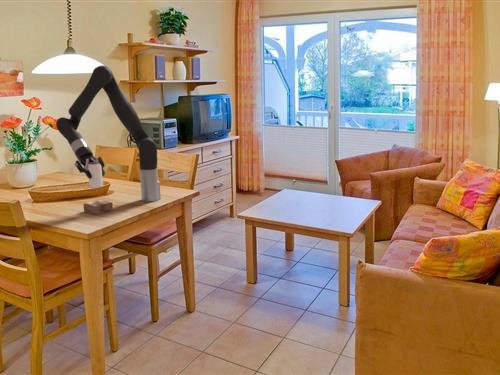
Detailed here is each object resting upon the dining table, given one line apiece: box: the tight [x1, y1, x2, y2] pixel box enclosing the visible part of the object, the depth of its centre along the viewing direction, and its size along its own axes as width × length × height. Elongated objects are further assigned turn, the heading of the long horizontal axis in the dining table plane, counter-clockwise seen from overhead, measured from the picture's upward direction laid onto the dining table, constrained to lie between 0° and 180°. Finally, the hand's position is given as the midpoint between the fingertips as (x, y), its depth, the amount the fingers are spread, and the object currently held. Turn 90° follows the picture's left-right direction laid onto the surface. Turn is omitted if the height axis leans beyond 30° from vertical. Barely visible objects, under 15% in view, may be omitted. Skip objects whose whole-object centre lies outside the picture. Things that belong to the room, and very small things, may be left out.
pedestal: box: [83, 199, 114, 216], centre depth 240 cm, size 10×10×4 cm
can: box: [88, 162, 104, 190], centre depth 235 cm, size 6×6×12 cm
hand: (97, 176), depth 235 cm, fingers closed on can, 6 cm apart
